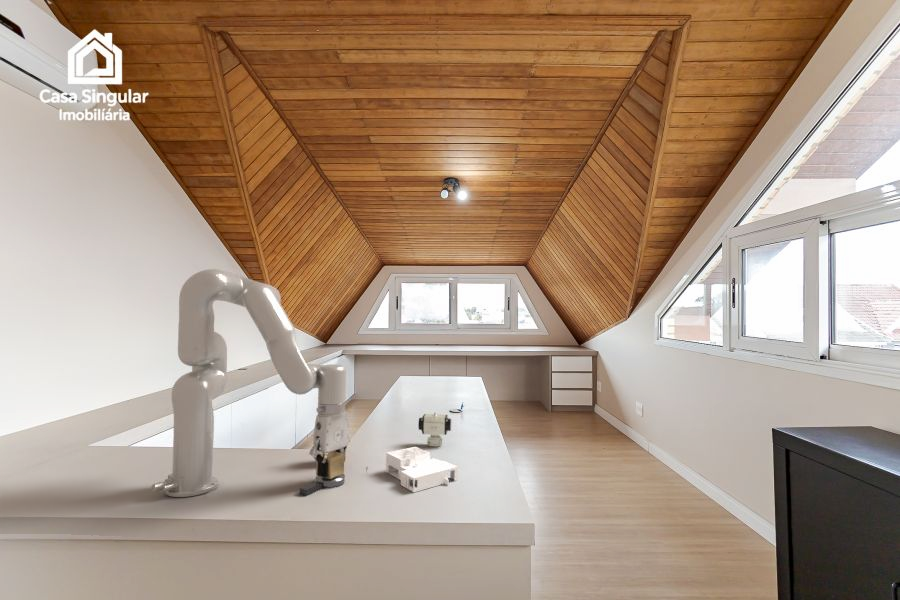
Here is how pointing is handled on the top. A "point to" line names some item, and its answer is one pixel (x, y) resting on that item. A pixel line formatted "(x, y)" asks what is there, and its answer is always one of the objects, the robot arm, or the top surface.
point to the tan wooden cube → (333, 464)
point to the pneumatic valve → (434, 427)
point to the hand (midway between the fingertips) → (330, 472)
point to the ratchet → (322, 484)
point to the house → (418, 469)
